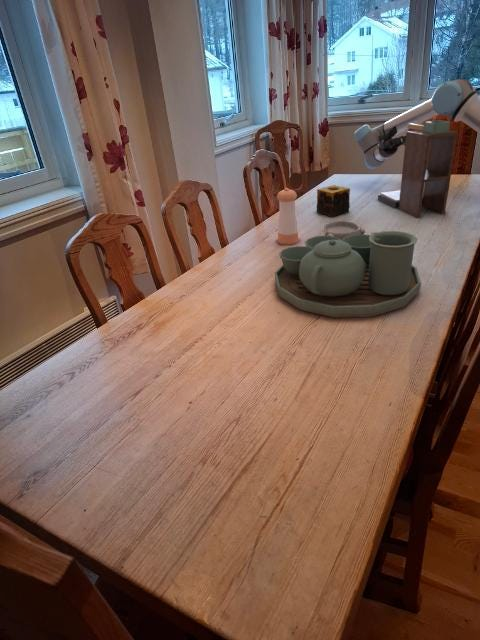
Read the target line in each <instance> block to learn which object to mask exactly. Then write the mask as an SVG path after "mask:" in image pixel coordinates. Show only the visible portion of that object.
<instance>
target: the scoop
mask: <svg viewBox="0 0 480 640" xmlns="http://www.w3.org/2000/svg"><path fill="white" fill-rule="evenodd" d="M423 124H424V125H423ZM423 124H413V123H409V124H408V126H407V128H410V129H409V130H411V129H412V130H422V131H423V132H425V133H431V134H439V133H446V132H449V130H450V127H451V121H447V120H440V119H438V120H437V119H435V120H427V121H425V122H423Z"/></svg>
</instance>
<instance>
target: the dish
mask: <svg viewBox="0 0 480 640" xmlns="http://www.w3.org/2000/svg"><path fill="white" fill-rule="evenodd" d="M365 233H366V229H365V228H362V226H361V225H359V224H358V223H356V222H354V221H349V220H335V221H334V220H333V221H330V222H327V223H325V224H324V226H323V235H322V236H332V237H337V238H339V239H340V240H342V241H343V238H344V237H349V236H352V235H365Z"/></svg>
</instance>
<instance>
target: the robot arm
mask: <svg viewBox="0 0 480 640" xmlns="http://www.w3.org/2000/svg"><path fill="white" fill-rule="evenodd" d="M478 97H479V95H478V92H476V91H475V89H474V86H473V84H472V82H470V81H469V80H467V79H465V78H457V79H454V80H447V81H444V82H443V83H441V84H440V85H439V86H437V88H435V90H434V91H433V94H432V97H431V98H430V99H429V100H426V101H424V102H423V103H421V104H418V105H416V106H415V107H413V108H410V109H409V110H407V111H405V112H403V113H401V114H399V115H397V116H395V117H393V118H391V119H390V120H387V121H386V122H383V123H382V124H380V125H378V126H375V127H373V128H371V127H370V126H369V124H364V125H362V126H360V127H359V128H358V129H356V130H355V131H354V133H353V136H354V138H355V140H356V142H357V144H358V146H359V147H360V149H361V151H362V152H363V155H364V165H365V167H366V168H367V169H370V170H375V169H377V168H378V167H380V166H382V165H383V164H384V163H385V162H386V161H387V160H388V159H390V158H391V157H393V156H394V155H395V154H396V153H397V152H398V149H399V148H400V147H402V146H404V147H405V141H406V135H401V136H399V137H396V136H397V135H399V134H402V133H403V132H407V131H409V130H411V129H410V128H407V126H408V124H409V123H413V124H420V125H424V122H428V121H430V120H431V119H433V118H435V117H437V116H445V117H448V118H449V119H450V120H452V121H453V122H455V123H457V122H462V123H464V124H465V125H467V126H468V127H470V128H471V129H473V130H474V131H476V132H477V133H478V134H480V100H479V98H478ZM422 123H423V124H422Z"/></svg>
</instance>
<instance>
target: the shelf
mask: <svg viewBox="0 0 480 640" xmlns="http://www.w3.org/2000/svg"><path fill="white" fill-rule="evenodd" d="M458 133H459V131H457V130H450V129H449V132H446V133H439V134H431V133H425V132H423V131H422V130H416V129H414V130H406V131H405V136H406V141H405V146H404V151H403V161H402V162H403V163H402V171H401V181H400V189H399V190H400V199H399V208H398V209H399V210H401V211H403V212H405V213H407V214H409V215H411V216H413V217H414V218H415V217H416V218H421V213H422V207H423V206H424V207H425V208H428V209H430V210H432V211H435V212H438V213H439V214H441V215H444V214H446V210H447V209H446V208H447V201H448V196H449V189H450V184H451V178H452V170H453V165H454V159H455V152H456V146H457V139H458ZM422 198H423V201H422Z"/></svg>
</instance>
